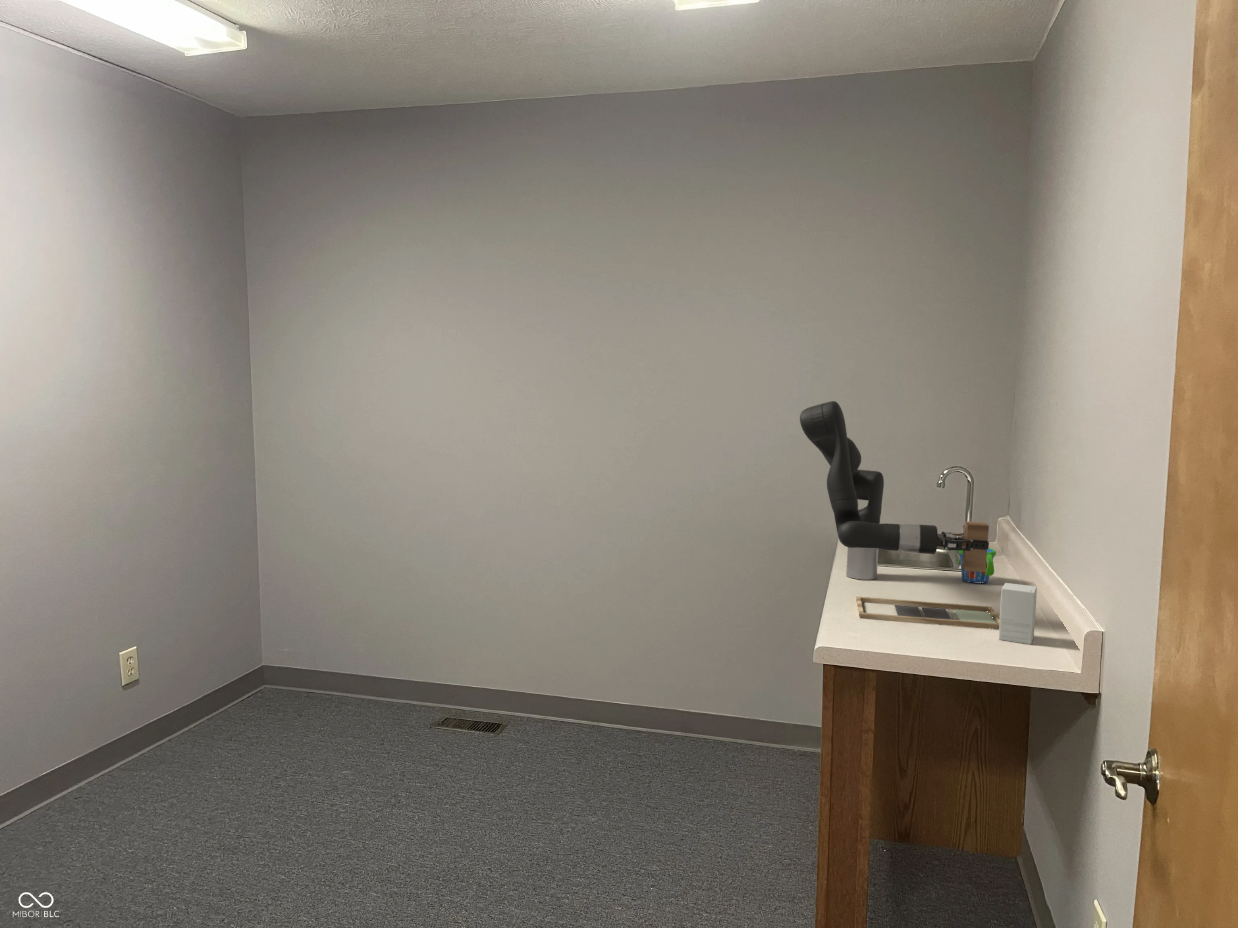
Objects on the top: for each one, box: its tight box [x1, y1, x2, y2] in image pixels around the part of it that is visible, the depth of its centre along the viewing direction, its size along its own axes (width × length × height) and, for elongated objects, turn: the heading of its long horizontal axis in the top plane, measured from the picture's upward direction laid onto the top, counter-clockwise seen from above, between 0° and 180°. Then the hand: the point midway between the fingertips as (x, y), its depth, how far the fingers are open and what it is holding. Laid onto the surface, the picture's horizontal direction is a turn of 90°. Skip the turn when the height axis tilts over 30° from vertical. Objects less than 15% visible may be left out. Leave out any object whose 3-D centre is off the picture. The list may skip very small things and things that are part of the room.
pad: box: [953, 609, 996, 623], centre depth 226 cm, size 12×8×1 cm
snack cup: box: [957, 547, 997, 584], centre depth 267 cm, size 16×10×10 cm
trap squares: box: [894, 605, 953, 620], centre depth 229 cm, size 12×13×1 cm
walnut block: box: [962, 521, 990, 572], centre depth 224 cm, size 5×5×12 cm
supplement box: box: [998, 582, 1038, 645], centre depth 208 cm, size 7×7×13 cm
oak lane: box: [855, 596, 1000, 630], centre depth 228 cm, size 18×35×1 cm, turn 77°
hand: (986, 543), depth 223 cm, fingers closed on walnut block, 5 cm apart
